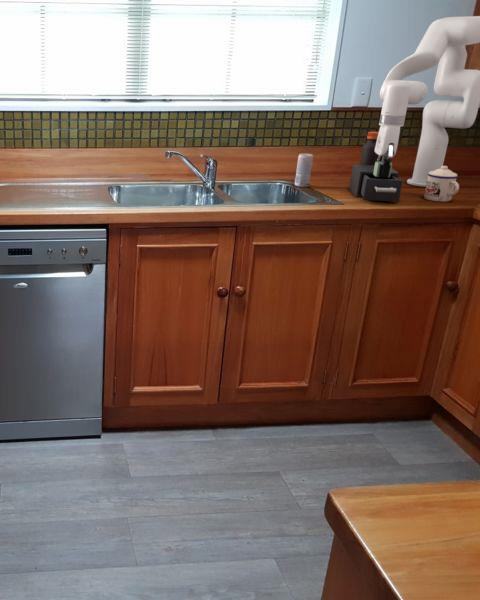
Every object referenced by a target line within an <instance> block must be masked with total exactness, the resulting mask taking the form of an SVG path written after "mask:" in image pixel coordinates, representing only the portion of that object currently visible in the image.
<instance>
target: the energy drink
mask: <svg viewBox="0 0 480 600" xmlns="http://www.w3.org/2000/svg"><path fill="white" fill-rule="evenodd" d="M313 161H314V154H311V153H298V156H297V166H296V171H295V178H294V186H295V187H297V188H308V187H309V186H310V181H311V175H312V168H313V163H314V162H313Z"/></svg>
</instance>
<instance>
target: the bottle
mask: <svg viewBox="0 0 480 600" xmlns="http://www.w3.org/2000/svg"><path fill="white" fill-rule="evenodd" d="M378 133H379V131H368V132H367V135H366V141H367V142H365V143H364V144H363V145H362V150H361V153H360V161H359V165H375V162H377V159H378V154H376V153H375V146H376V142H377V137H378Z"/></svg>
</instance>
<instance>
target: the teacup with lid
mask: <svg viewBox="0 0 480 600" xmlns="http://www.w3.org/2000/svg"><path fill="white" fill-rule="evenodd" d="M457 178H458V173H456V172H453V171H452V170H451V169H449V167H448V166H447V165H443V166H441V169H437V170H435V171H430V172H429V173H428V180H427V184H426V187H425V189H424V193H423V199H425V200H428V201H432V202H439V203H440V202H441V203H448V202H451V201H452V198H453V196H455V195H457V194H458V193H459V189H460V184H459V183H458V182H457Z"/></svg>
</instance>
